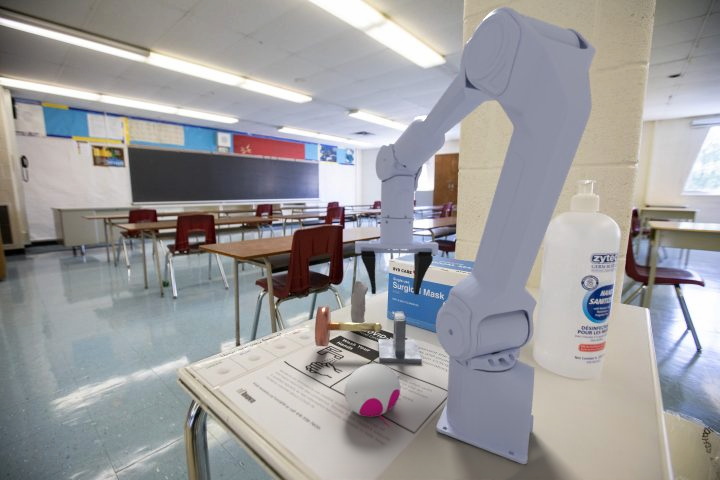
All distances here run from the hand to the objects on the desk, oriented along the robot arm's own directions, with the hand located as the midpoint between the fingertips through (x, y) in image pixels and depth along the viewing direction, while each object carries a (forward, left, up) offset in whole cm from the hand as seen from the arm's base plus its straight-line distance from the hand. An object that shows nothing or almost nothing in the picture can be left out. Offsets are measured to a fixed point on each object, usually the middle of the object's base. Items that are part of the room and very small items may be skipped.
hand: (394, 292), depth 56 cm
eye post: (-2, +1, -10) cm, 11 cm away
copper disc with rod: (+6, +6, -9) cm, 12 cm away
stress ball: (-5, +17, -11) cm, 21 cm away
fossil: (+10, -5, -11) cm, 16 cm away
